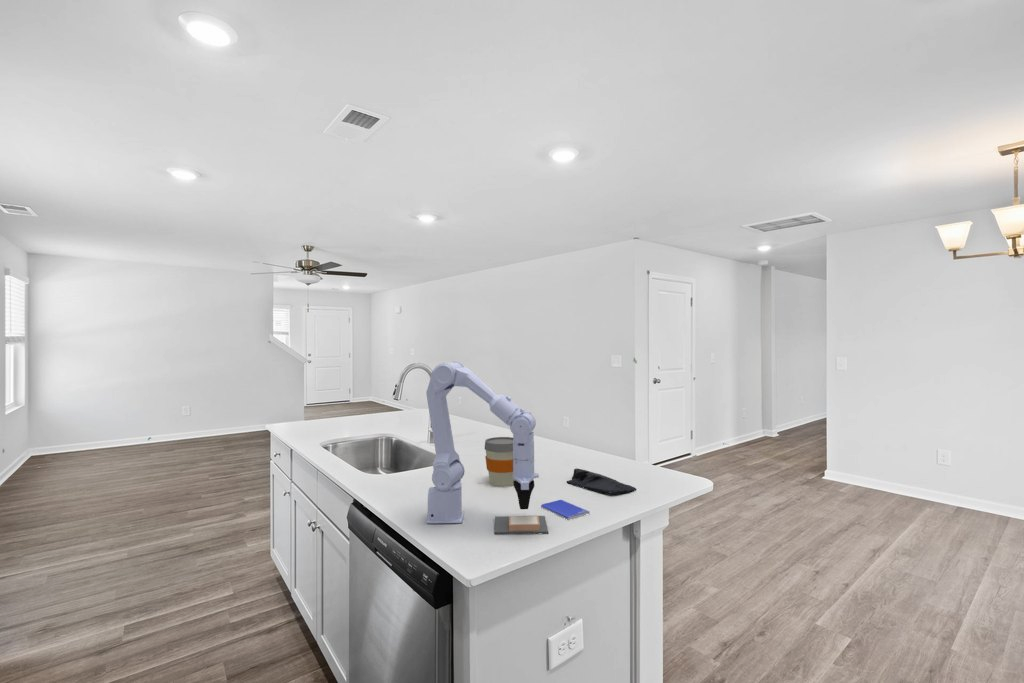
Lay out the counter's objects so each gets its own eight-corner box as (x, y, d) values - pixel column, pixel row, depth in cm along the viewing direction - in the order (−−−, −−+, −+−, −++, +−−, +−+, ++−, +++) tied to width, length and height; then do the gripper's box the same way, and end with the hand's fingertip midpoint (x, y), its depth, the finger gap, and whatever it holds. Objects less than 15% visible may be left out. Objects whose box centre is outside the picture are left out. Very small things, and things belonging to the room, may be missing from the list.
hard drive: (589, 510, 136) (561, 499, 147) (567, 516, 132) (540, 504, 142) (589, 516, 136) (561, 504, 147) (568, 522, 132) (540, 509, 142)
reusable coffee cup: (509, 490, 159) (508, 445, 159) (477, 485, 165) (477, 441, 165) (526, 480, 169) (526, 438, 169) (496, 476, 176) (496, 435, 176)
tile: (508, 522, 129) (509, 531, 123) (508, 516, 129) (509, 524, 123) (538, 521, 129) (539, 530, 123) (538, 515, 129) (539, 524, 123)
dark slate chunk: (607, 500, 149) (606, 485, 149) (562, 483, 168) (562, 469, 168) (640, 491, 158) (640, 477, 158) (595, 476, 176) (595, 463, 176)
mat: (494, 534, 123) (494, 532, 123) (495, 518, 134) (494, 516, 134) (548, 533, 123) (548, 531, 123) (544, 517, 134) (544, 515, 134)
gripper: (540, 465, 121) (540, 518, 121) (536, 451, 135) (536, 499, 136) (512, 465, 121) (513, 518, 121) (511, 452, 135) (512, 499, 135)
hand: (524, 508), depth 128 cm, fingers closed
